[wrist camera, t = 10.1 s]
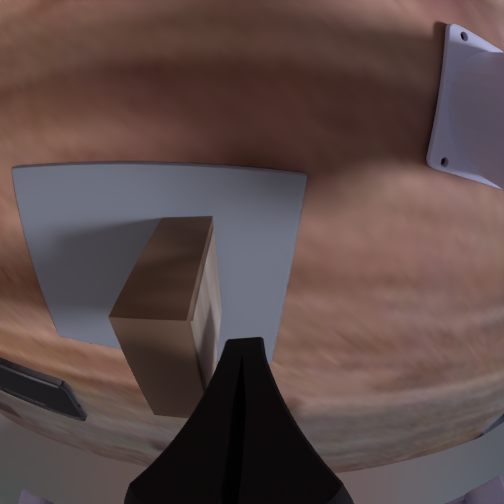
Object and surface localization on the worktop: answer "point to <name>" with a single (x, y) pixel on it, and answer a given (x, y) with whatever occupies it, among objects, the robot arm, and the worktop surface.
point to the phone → (40, 390)
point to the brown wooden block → (172, 315)
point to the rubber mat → (142, 227)
